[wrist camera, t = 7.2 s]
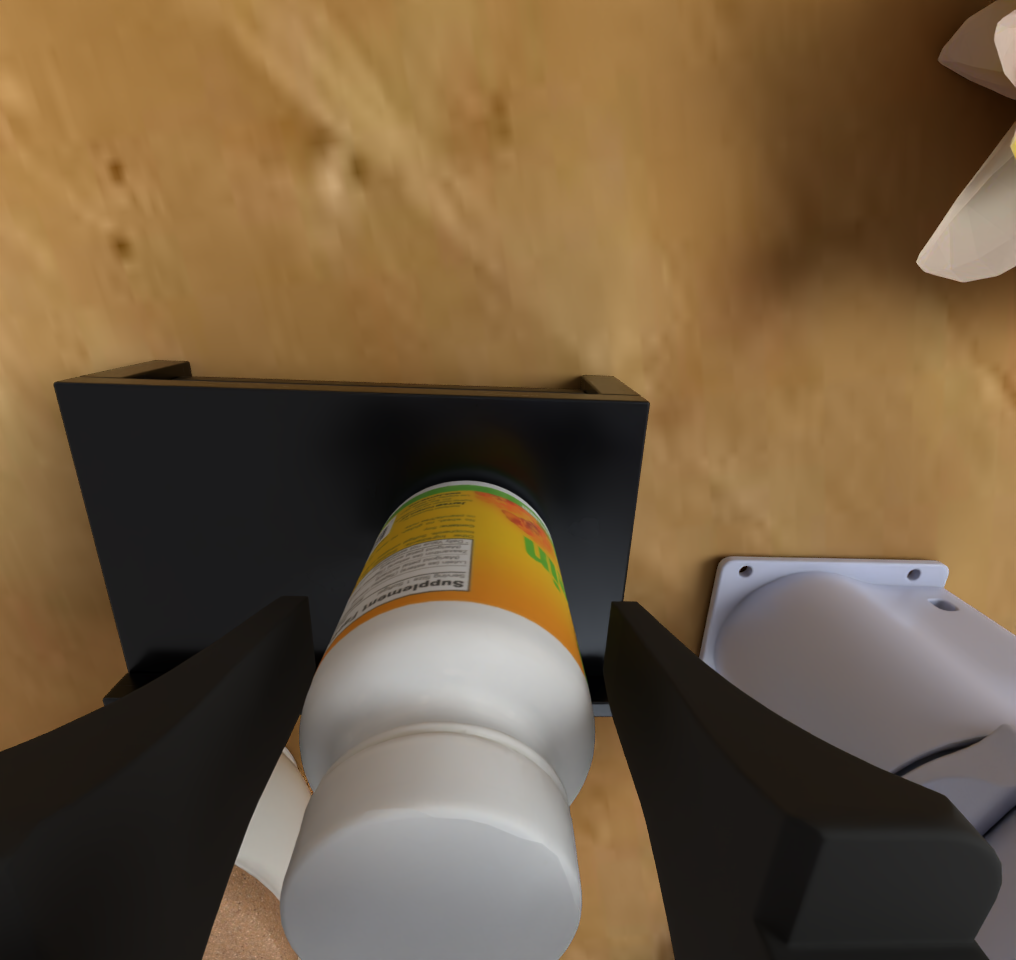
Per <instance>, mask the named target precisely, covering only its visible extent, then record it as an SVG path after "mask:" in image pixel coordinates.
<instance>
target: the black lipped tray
mask: <svg viewBox="0 0 1016 960" xmlns="http://www.w3.org/2000/svg"><path fill="white" fill-rule="evenodd" d="M54 389H55V393H56V397H57V400H58V404H59V408H60V412H61V416H62V420H63V423H64V427H65V431H66V435H67V439H68V443H69V446H70V450H71V454H72V458H73V462H74V466H75V469H76V473H77V477H78V481H79V485H80V489H81V492H82V496H83V500H84V504H85V508H86V512H87V515H88V519H89V523H90V527H91V531H92V535H93V538H94V542H95V546H96V550H97V554H98V558H99V561H100V565H101V569H102V573H103V577H104V581H105V584H106V588H107V592H108V596H109V600H110V604H111V607H112V611H113V615H114V619H115V623H116V627H117V630H118V634H119V638H120V642H121V646H122V650H123V653H124V657H125V661H126V665H127V669H128V673H127V674H126V675H125V676H124V677H123V678H122V679H121V680H120V681H119V682H118V683H117V684H116V685H115V686H114V687H113V688H112V689H111V691H110V692H109V693H108V694H107V695H106V696H105V697H104V698H103V703H104V706H106V705H108V704H110V703H112V702H114V701H116V700H118V699H120V698H122V697H124V696H126V695H128V694H129V693H131V692H133V691H135V690H137V689H139V688H141V687H142V686H144V685H146V684H148V683H150V682H151V681H153V680H155V679H157V678H158V677H160V676H162V675H164V674H165V673H167V672H169V671H170V670H172V669H173V668H175V667H177V666H178V665H180V664H181V663H183V662H184V661H186V660H188V659H189V658H191V657H192V656H194V655H195V654H197V653H199V652H200V651H202V650H203V649H205V648H206V647H208V646H210V645H211V644H213V643H214V642H215V641H217V640H218V639H220V638H221V637H223V636H224V635H226V634H227V633H228V632H230V631H231V630H233V629H234V628H236V627H237V626H239V625H240V624H241V623H243V622H244V621H246V620H247V619H249V618H250V617H251V616H253V615H254V614H256V613H257V612H258V611H260V610H261V609H263V608H264V607H266V606H267V605H269V604H270V603H271V602H273V601H275V600H276V599H278V598H279V597H281V596H308V599H309V608H310V617H311V627H312V636H313V645H314V654H315V664H316V669H315V672H314V675H315V673H316V670H317V668H318V666H319V664H320V662H321V660H322V658H323V656H324V653H325V651H326V649H327V647H328V645H329V643H330V641H331V638H332V636H333V634H334V632H335V630H336V627H337V625H338V623H339V621H340V619H341V616H342V614H343V612H344V610H345V607H346V605H347V602H348V600H349V598H350V596H351V594H352V592H353V590H354V588H355V586H356V583H357V581H358V579H359V577H360V575H361V573H362V570H363V568H364V566H365V564H366V561H367V560H368V557H369V555H370V553H371V551H372V549H373V546H374V544H375V542H376V540H377V538H378V536H379V534H380V532H381V530H382V528H383V527H384V525H385V523H386V522H387V520H388V519H389V517H390V516H391V515H392V514H393V512H394V511H395V510H396V509H397V508H398V507H399V506H400V505H401V504H402V503H404V502H405V501H406V500H407V499H409V498H410V497H411V496H413V495H414V494H416V493H418V492H420V491H422V490H424V489H426V488H428V487H431V486H434V485H437V484H441V483H446V482H452V481H466V480H467V481H479V482H485V483H489V484H493V485H496V486H499V487H502V488H504V489H506V490H508V491H510V492H512V493H514V494H515V495H517V496H518V497H520V498H521V499H523V500H524V501H525V502H526V503H528V504H529V505H530V506H531V507H532V508H533V509H534V510H535V511H536V512H537V514H538V515H539V516H540V518H541V519H542V520H543V522H544V523H545V525H546V527H547V529H548V531H549V533H550V536H551V539H552V542H553V545H554V548H555V552H556V556H557V560H558V564H559V568H560V573H561V577H562V581H563V585H564V589H565V593H566V597H567V601H568V605H569V610H570V614H571V618H572V622H573V626H574V630H575V634H576V638H577V642H578V646H579V650H580V654H581V658H582V663H583V667H584V671H585V674H586V678H587V682H588V687H589V691H590V696H591V702H592V708H593V714H594V717H612V714H611V711H610V706H609V701H608V696H607V691H606V686H605V680H604V675H603V664H604V656H605V648H606V640H607V632H608V624H609V616H610V609H611V601H623V599H624V592H625V584H626V577H627V570H628V562H629V555H630V547H631V540H632V533H633V525H634V518H635V510H636V503H637V495H638V488H639V481H640V473H641V466H642V458H643V451H644V444H645V436H646V429H647V421H648V414H649V407H650V403H649V401H647V400H646V399H644V398H643V397H641V395H639V394H638V393H636V392H635V391H634V390H632V389H631V388H629V387H628V386H627V385H625V384H624V383H622V382H621V381H620V380H618V379H617V378H615V377H614V376H592V375H583V376H582V377H581V388H580V390H575V389H545V388H516V387H486V386H457V385H428V384H398V383H369V382H339V381H310V380H280V379H251V378H221V377H192V374H191V368H190V363H189V362H188V361H166V360H154V361H149V362H144V363H140V364H135V365H130V366H126V367H121V368H116V369H112V370H107V371H102V372H98V373H93V374H88V375H84V376H80V377H75V378H70V379H66V380H61V381H57V382H54ZM314 675H313V677H314ZM312 680H313V678H312ZM311 683H312V682H311ZM310 686H311V685H310ZM309 689H310V688H309ZM302 710H303V709H302ZM300 715H302V711H301V713H300Z"/></svg>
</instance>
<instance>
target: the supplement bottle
mask: <svg viewBox="0 0 1016 960" xmlns="http://www.w3.org/2000/svg"><path fill="white" fill-rule="evenodd" d="M299 744H300V752H301V759H302V764H303V768H304V771H305V774H306V777H307V779H308V782H309V784H310V787H311V789H312V790H313V792H314V793H313V794H312V796H311V798H310V800H309V802H308V805H307V807H306V809H305V813H304V816H303V820H302V823H301V827H300V831H299V834H298V837H297V840H296V843H295V847H294V850H293V853H292V856H291V859H290V862H289V866H288V868H287V871H286V874H285V877H284V880H283V885H282V890H281V895H280V916H281V923H282V927H283V930H284V933H285V935H286V938H287V940H288V942H289V943H290V945H291V947H292V949H293V950H294V951H295V953H296V954H297V955H298V956H299V957H300V959H301V960H558V959H559V958H560V957H561V956H562V955H563V953H564V952H565V951H566V949H567V948H568V946H569V944H570V943H571V941H572V939H573V937H574V935H575V933H576V931H577V928H578V925H579V921H580V917H581V908H582V891H581V883H580V876H579V868H578V860H577V853H576V845H575V838H574V831H573V824H572V818H571V815H570V808H569V806H570V805H571V803H572V802H573V801H574V799H575V798H576V796H577V795H578V793H579V791H580V790H581V788H582V786H583V784H584V782H585V779H586V777H587V774H588V771H589V769H590V766H591V762H592V758H593V753H594V744H595V721H594V714H593V708H592V702H591V696H590V691H589V687H588V682H587V678H586V674H585V671H584V667H583V663H582V658H581V654H580V650H579V646H578V642H577V638H576V634H575V630H574V626H573V622H572V618H571V614H570V610H569V605H568V601H567V597H566V593H565V589H564V585H563V581H562V577H561V573H560V568H559V564H558V560H557V556H556V552H555V548H554V545H553V542H552V539H551V536H550V533H549V531H548V529H547V527H546V525H545V523H544V522H543V520H542V519H541V518H540V516H539V515H538V514H537V512H536V511H535V510H534V509H533V508H532V507H531V506H530V505H529V504H528V503H526V502H525V501H524V500H523V499H521V498H520V497H518V496H517V495H515V494H514V493H512V492H510V491H508V490H506V489H504V488H502V487H499V486H496V485H493V484H489V483H485V482H479V481H467V480H466V481H452V482H446V483H441V484H437V485H434V486H431V487H428V488H426V489H424V490H422V491H420V492H418V493H416V494H414V495H413V496H411V497H410V498H409V499H407V500H406V501H405V502H404V503H402V504H401V505H400V506H399V507H398V508H397V509H396V510H395V511H394V512H393V514H392V515H391V516H390V517H389V519H388V520H387V522H386V523H385V525H384V527H383V528H382V530H381V532H380V534H379V536H378V538H377V540H376V542H375V544H374V546H373V549H372V551H371V553H370V555H369V557H368V560H367V561H366V564H365V566H364V568H363V570H362V573H361V575H360V577H359V579H358V581H357V583H356V586H355V588H354V590H353V592H352V594H351V596H350V598H349V600H348V602H347V605H346V607H345V610H344V612H343V614H342V616H341V619H340V621H339V623H338V625H337V627H336V630H335V632H334V634H333V636H332V638H331V641H330V643H329V645H328V647H327V649H326V651H325V653H324V656H323V658H322V660H321V662H320V664H319V666H318V668H317V670H316V673H315V675H314V677H313V680H312V683H311V686H310V689H309V691H308V694H307V696H306V700H305V703H304V706H303V710H302V715H301V720H300V729H299Z"/></svg>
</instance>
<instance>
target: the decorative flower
mask: <svg viewBox="0 0 1016 960" xmlns="http://www.w3.org/2000/svg"><path fill="white" fill-rule="evenodd" d="M938 61H939V62H940V63H941V64H942V65H944V66H946V67H947V68H949V69H951V70H953V71H954V72H956V73H958V74H960V75H961V76H963V77H965V78H967V79H968V80H970V81H972V82H975V83H977V84H979V85H982V86H984V87H986V88H988V89H991V90H993V91H995V92H997V93H999V94H1002V95H1004V96H1006V97H1008V98H1011V99H1014V100H1016V0H997V1H995V2H993V3H992V4H990V5H988V6H987V7H985V8H984V9H982V10H980V11H979V12H977V13H976V14H974V15H972V16H971V17H969V18H968V19H967V20H966V21H965V22H964V23H963V24H962V26H961V27H960V28H959V29H958V30H957V32H956V33H955V34H954V35H953V36H952V38H951V39H950V40H949V41H948V42H947V44H946V45H945V46H944V47H943V49H942V51H941V53H940V55H939V58H938ZM916 263H917V264H918V265H919V266H920V268H921V269H922V270H923V271H924V272H926V273H930V274H933V275H937V276H941V277H944V278H948V279H952V280H955V281H959V282H963V283H964V282H969V281H974V280H979V279H984V278H989V277H995V276H999V275H1000V274H1002V273H1004V272H1006V271H1008V270H1009V269H1011V268H1013V267H1015V266H1016V121H1015V122H1014V124H1013V125H1012V126H1011V128H1010V129H1009V130H1008V132H1007V133H1006V134H1005V136H1004V137H1003V138H1002V140H1001V141H1000V142H999V144H998V145H997V146H996V148H995V149H994V150H993V152H992V153H991V155H990V156H989V157H988V159H987V160H986V161H985V163H984V164H983V165H982V167H981V168H980V169H979V170H978V172H977V173H976V174H975V176H974V177H973V178H972V180H971V181H970V182H969V184H968V185H967V186H966V187H965V189H964V190H963V191H962V193H961V194H960V195H959V197H958V198H957V199H956V201H955V202H954V204H953V205H952V207H951V208H950V210H949V211H948V213H947V214H946V216H945V217H944V219H943V220H942V222H941V223H940V225H939V226H938V228H937V229H936V231H935V232H934V234H933V235H932V237H931V238H930V240H929V241H928V243H927V244H926V245H925V247H924V248H923V250H922V251H921V253H920V254H919V257H918V259H917V261H916Z"/></svg>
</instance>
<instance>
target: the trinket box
mask: <svg viewBox="0 0 1016 960" xmlns="http://www.w3.org/2000/svg"><path fill="white" fill-rule="evenodd" d="M311 796H312V795H311V792H310V790H309V788H308V786H307V783H306V781H305V780H304V778H303V776H302V774H301V773H300V772H299V770H298V768H297V764H296V762H295V760H294V758H293V756H292V754H291V753H290V752H289V750H288V749H287V748H286V747H284V749H283V751H282V754H281V756H280V758H279V760H278V762H277V764H276V766H275V768H274V770H273V772H272V774H271V777H270V779H269V781H268V783H267V785H266V787H265V789H264V791H263V793H262V795H261V798H260V800H259V802H258V804H257V807H256V809H255V811H254V813H253V816H252V818H251V820H250V823H249V825H248V828H247V831H246V834H245V836H244V839H243V842H242V845H241V847H240V850H239V853H238V856H237V858H236V861H235V864H234V867H233V869H232V872H231V875H230V878H229V881H228V884H227V887H226V889H225V892H224V895H223V898H222V901H221V904H220V907H219V910H218V913H217V916H216V919H215V922H214V924H213V927H212V930H211V933H210V937H209V940H208V943H207V946H206V949H205V952H204V955H203V958H202V960H298V955H297V954H296V953H295V951H294V950H293V949H292V947H291V945H290V943H289V942H288V940H287V938H286V935H285V933H284V930H283V927H282V923H281V916H280V895H281V890H282V885H283V880H284V877H285V874H286V871H287V868H288V866H289V862H290V859H291V856H292V853H293V850H294V847H295V843H296V840H297V837H298V834H299V831H300V827H301V823H302V820H303V816H304V813H305V809H306V807H307V805H308V802H309V800H310V798H311Z"/></svg>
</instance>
